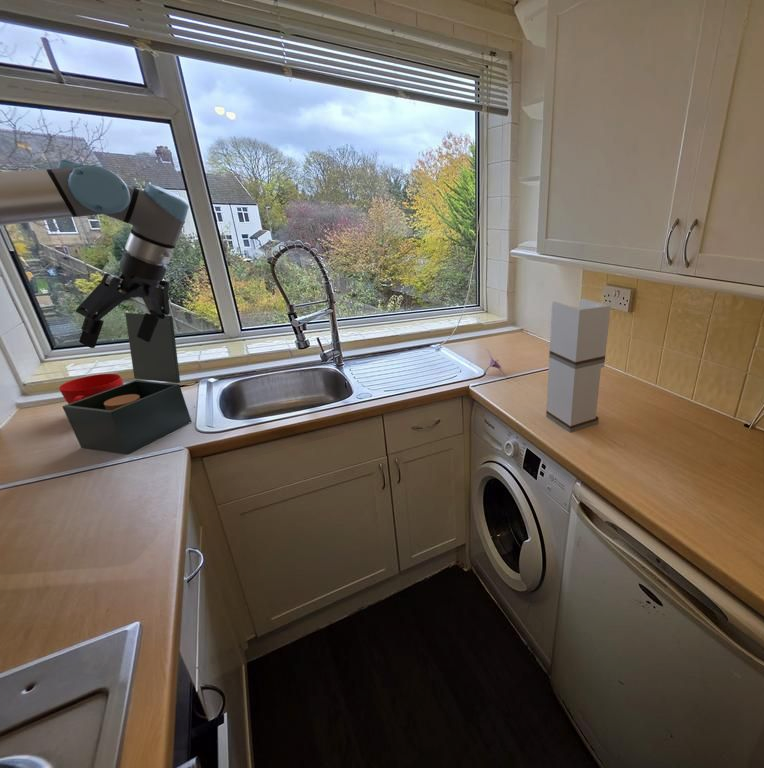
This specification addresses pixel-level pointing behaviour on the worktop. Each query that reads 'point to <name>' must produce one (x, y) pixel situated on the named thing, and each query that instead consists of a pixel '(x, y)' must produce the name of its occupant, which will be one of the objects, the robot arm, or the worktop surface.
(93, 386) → the red bowl
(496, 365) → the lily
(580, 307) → the white tall square block
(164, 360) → the bin lid
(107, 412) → the bin
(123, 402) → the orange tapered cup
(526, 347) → the worktop surface
